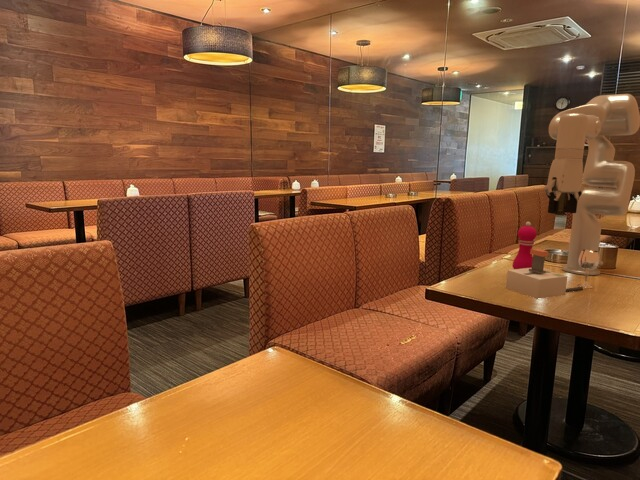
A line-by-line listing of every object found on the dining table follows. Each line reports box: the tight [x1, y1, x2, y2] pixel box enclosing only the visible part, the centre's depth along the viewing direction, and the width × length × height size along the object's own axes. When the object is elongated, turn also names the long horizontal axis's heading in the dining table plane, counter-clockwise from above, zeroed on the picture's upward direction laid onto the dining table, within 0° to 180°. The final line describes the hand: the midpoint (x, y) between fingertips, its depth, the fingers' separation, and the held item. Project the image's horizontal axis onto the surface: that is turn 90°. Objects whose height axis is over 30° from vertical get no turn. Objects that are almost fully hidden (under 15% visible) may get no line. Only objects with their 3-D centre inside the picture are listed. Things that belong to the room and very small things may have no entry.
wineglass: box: [577, 250, 600, 289], centre depth 148 cm, size 6×6×12 cm
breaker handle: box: [529, 248, 550, 274], centre depth 139 cm, size 3×4×7 cm
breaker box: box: [505, 268, 584, 300], centre depth 143 cm, size 22×12×6 cm, turn 114°
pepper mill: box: [511, 221, 538, 269], centre depth 156 cm, size 7×7×20 cm
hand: (561, 212), depth 140 cm, fingers open, 7 cm apart
